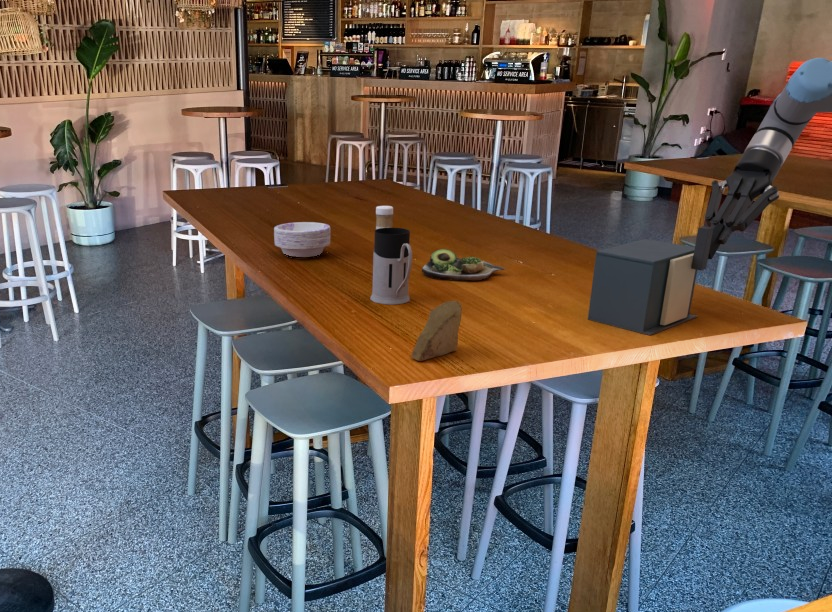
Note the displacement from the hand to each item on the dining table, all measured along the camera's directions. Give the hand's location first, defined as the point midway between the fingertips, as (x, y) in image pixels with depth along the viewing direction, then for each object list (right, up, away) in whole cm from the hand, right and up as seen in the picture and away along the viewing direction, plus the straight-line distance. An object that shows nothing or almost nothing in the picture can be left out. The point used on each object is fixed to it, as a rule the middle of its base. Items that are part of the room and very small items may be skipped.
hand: (706, 254), depth 154 cm
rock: (-55, -20, -12) cm, 60 cm away
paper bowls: (-80, +10, +61) cm, 101 cm away
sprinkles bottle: (-58, +9, +58) cm, 83 cm away
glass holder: (-59, -7, +18) cm, 62 cm away
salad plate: (-41, +2, +42) cm, 59 cm away
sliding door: (-5, -13, +2) cm, 14 cm away
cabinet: (-10, -12, +7) cm, 17 cm away
